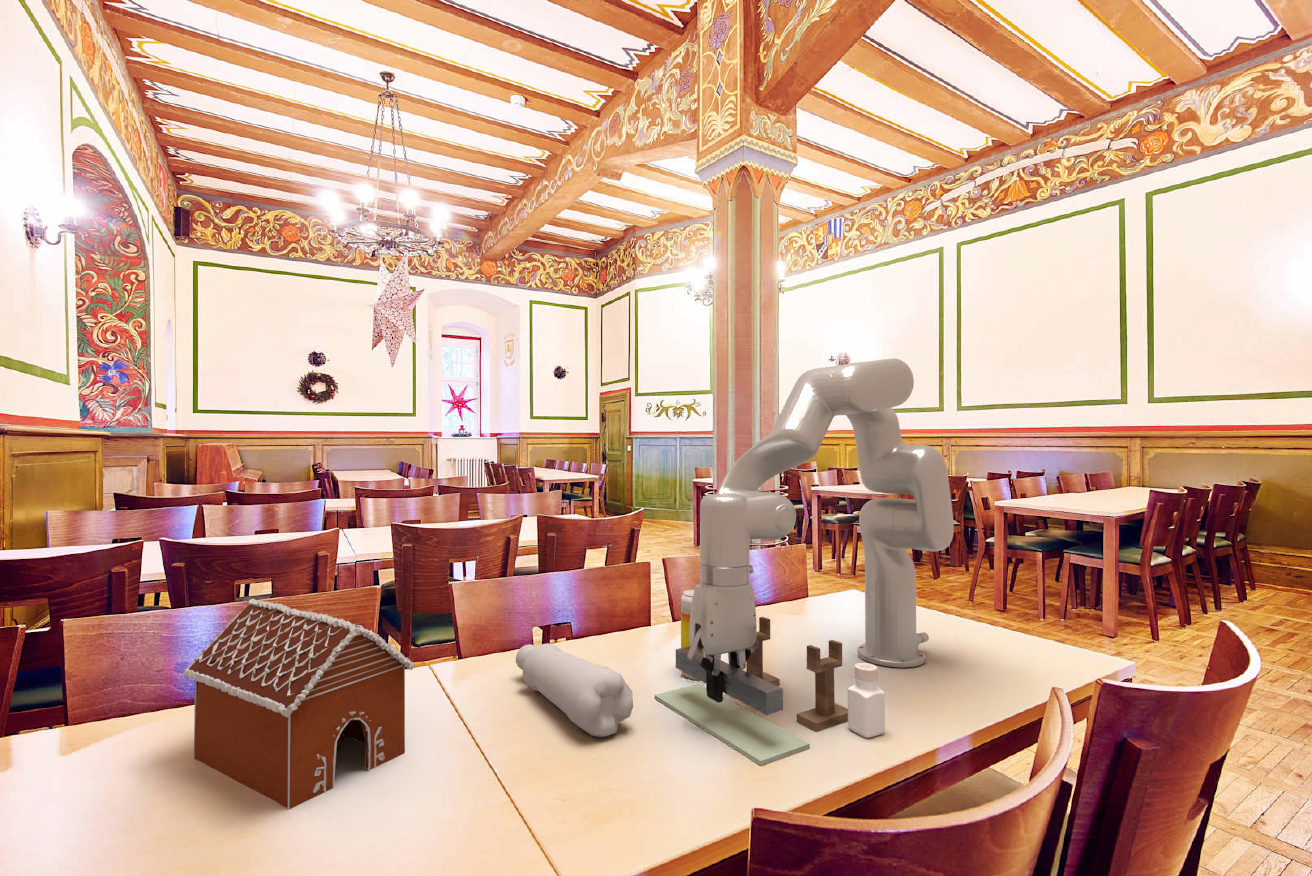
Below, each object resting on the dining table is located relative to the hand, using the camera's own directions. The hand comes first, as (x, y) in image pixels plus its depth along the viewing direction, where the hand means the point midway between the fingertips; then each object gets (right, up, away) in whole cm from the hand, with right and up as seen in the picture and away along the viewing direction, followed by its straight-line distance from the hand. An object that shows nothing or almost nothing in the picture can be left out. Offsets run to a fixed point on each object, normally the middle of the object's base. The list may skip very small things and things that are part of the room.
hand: (724, 695), depth 94 cm
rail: (0, +1, 0) cm, 1 cm away
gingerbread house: (-58, -4, -11) cm, 60 cm away
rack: (+11, -4, +7) cm, 14 cm away
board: (0, -4, 0) cm, 4 cm away
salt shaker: (+20, -4, -4) cm, 21 cm away
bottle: (-25, -4, +6) cm, 26 cm away
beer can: (-3, -5, +19) cm, 20 cm away
